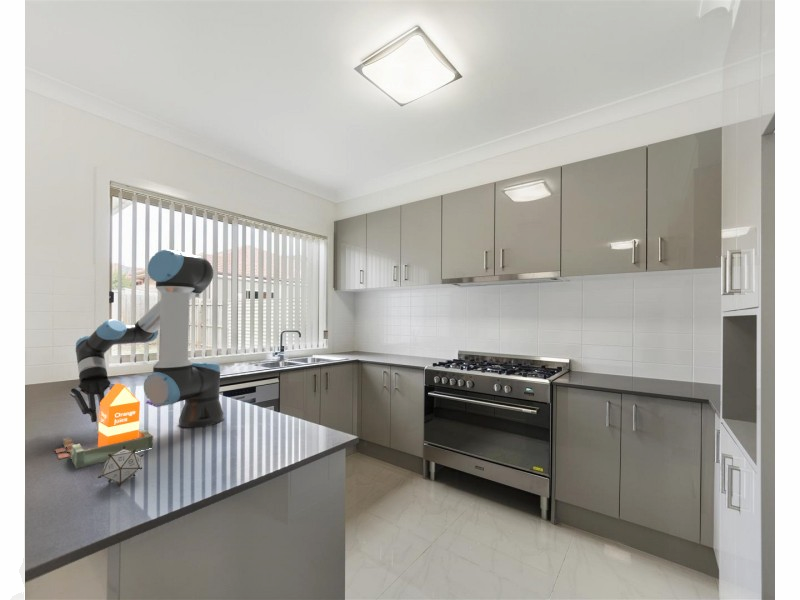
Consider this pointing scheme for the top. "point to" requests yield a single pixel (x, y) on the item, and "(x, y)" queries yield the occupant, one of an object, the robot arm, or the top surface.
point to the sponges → (151, 403)
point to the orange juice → (118, 416)
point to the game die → (121, 465)
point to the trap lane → (106, 449)
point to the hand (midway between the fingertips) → (100, 428)
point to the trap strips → (61, 454)
